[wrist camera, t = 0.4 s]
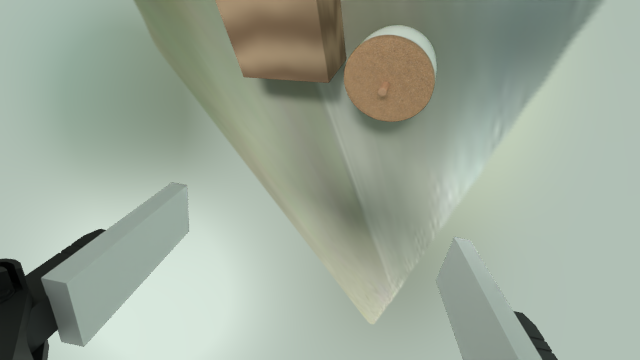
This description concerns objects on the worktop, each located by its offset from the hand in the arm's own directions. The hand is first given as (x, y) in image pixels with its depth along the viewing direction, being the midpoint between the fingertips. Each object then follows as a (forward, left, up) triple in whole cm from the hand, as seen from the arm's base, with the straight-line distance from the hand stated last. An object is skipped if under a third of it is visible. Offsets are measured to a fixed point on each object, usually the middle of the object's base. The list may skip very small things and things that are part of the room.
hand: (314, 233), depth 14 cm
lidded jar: (+6, -3, -33) cm, 34 cm away
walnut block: (0, -18, -33) cm, 37 cm away
